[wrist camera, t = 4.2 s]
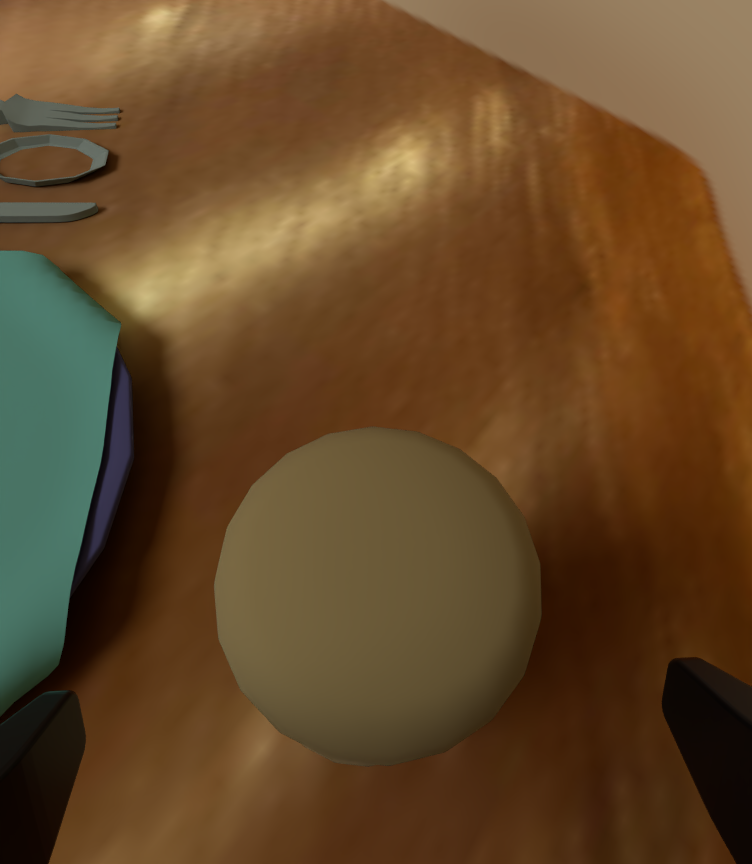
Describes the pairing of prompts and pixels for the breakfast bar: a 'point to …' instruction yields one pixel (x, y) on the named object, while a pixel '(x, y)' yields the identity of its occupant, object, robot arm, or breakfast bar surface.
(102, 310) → the cutlery set
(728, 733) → the robot arm
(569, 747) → the breakfast bar surface
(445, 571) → the cork
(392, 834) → the breakfast bar surface
